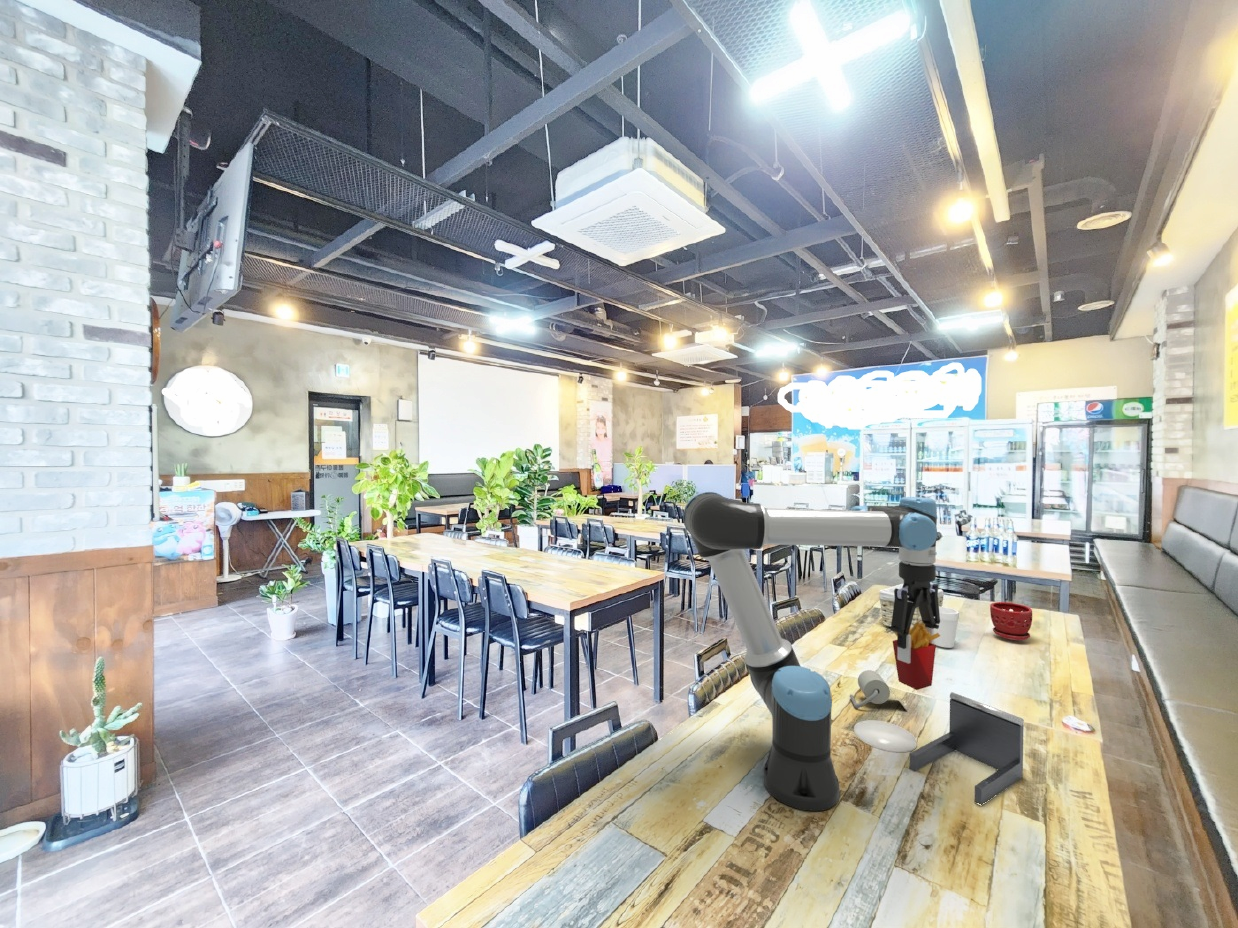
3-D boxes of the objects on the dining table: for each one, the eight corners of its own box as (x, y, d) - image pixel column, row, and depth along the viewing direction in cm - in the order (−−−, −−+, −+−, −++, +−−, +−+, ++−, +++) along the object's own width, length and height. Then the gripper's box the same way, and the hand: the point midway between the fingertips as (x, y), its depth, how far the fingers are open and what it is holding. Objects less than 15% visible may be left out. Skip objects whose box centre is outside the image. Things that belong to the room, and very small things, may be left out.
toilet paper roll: (910, 715, 139) (881, 678, 141) (877, 736, 141) (848, 699, 142) (897, 698, 149) (870, 663, 151) (866, 717, 151) (840, 683, 153)
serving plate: (895, 760, 119) (895, 757, 119) (842, 732, 131) (842, 729, 131) (928, 743, 126) (928, 739, 126) (875, 717, 138) (875, 715, 138)
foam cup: (958, 643, 193) (958, 608, 193) (959, 650, 185) (959, 615, 185) (929, 638, 198) (929, 604, 198) (928, 645, 190) (928, 611, 190)
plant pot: (989, 628, 209) (990, 599, 209) (1030, 635, 201) (1031, 605, 201) (989, 637, 199) (990, 607, 198) (1033, 645, 191) (1033, 613, 191)
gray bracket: (981, 808, 103) (982, 741, 103) (909, 770, 115) (910, 710, 115) (1022, 778, 112) (1023, 717, 112) (952, 746, 125) (953, 691, 124)
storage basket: (916, 635, 201) (917, 598, 201) (876, 624, 215) (876, 589, 214) (945, 624, 214) (945, 589, 214) (905, 614, 228) (906, 581, 228)
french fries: (892, 680, 123) (890, 619, 123) (916, 673, 126) (915, 613, 126) (925, 696, 115) (923, 631, 114) (951, 688, 118) (949, 624, 117)
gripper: (905, 570, 112) (903, 672, 113) (958, 561, 123) (957, 654, 123) (874, 563, 119) (872, 660, 120) (927, 555, 129) (925, 644, 130)
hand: (915, 657), depth 121 cm, fingers closed on french fries, 8 cm apart
